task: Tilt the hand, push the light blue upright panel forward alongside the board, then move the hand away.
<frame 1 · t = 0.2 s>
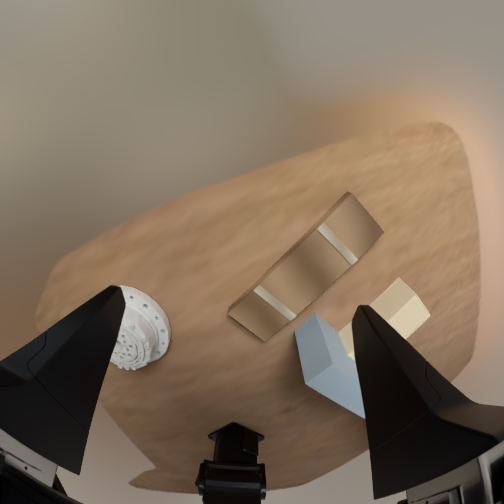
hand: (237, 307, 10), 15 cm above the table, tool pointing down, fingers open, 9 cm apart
light blue upright panel: (337, 348, 29), on the table
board: (304, 269, 26), on the table
mechanical component: (132, 321, 29), on the table
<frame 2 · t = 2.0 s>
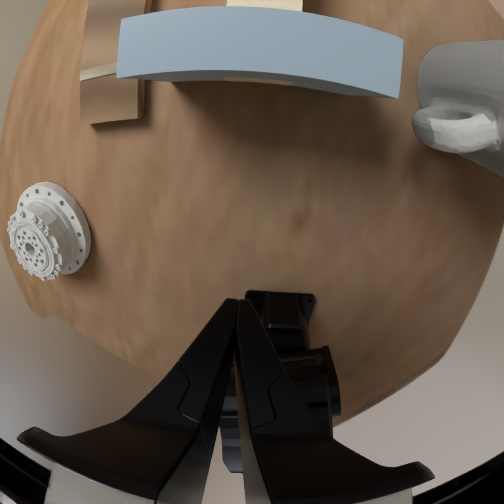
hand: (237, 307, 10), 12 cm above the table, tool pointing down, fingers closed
light blue upright panel: (260, 62, 15), on the table
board: (119, 24, 12), on the table
coffee mug: (447, 98, 14), on the table
mechanical component: (56, 225, 22), on the table
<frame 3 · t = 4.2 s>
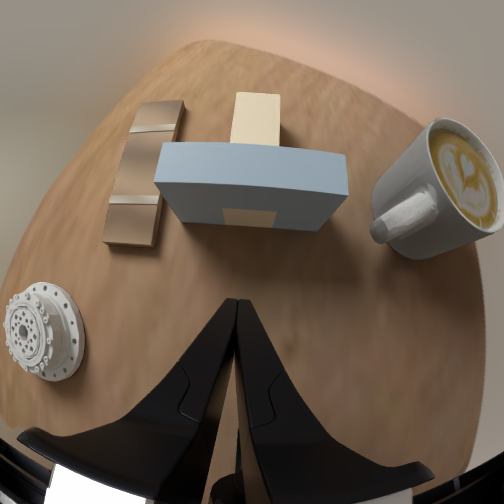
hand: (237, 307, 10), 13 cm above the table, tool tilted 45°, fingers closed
light blue upright panel: (249, 210, 24), on the table
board: (146, 167, 24), on the table
coffee mug: (399, 216, 24), on the table
mechanical component: (51, 331, 21), on the table
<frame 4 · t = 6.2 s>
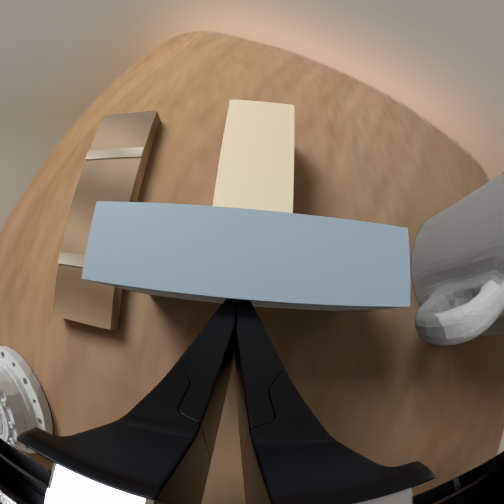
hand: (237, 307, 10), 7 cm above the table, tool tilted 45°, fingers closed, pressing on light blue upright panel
light blue upright panel: (246, 280, 17), on the table, touching gripper
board: (105, 209, 17), on the table
coffee mug: (441, 279, 17), on the table
mechanical component: (18, 398, 14), on the table
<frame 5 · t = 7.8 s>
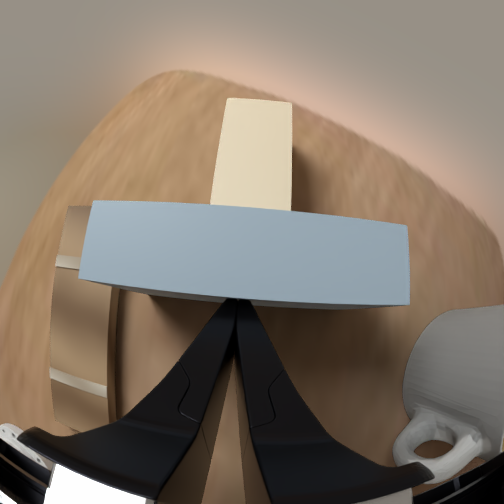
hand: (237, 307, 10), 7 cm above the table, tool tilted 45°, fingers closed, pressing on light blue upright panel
light blue upright panel: (244, 279, 17), on the table, touching gripper
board: (86, 324, 15), on the table
coffee mug: (433, 380, 15), on the table
mechanical component: (32, 465, 12), on the table
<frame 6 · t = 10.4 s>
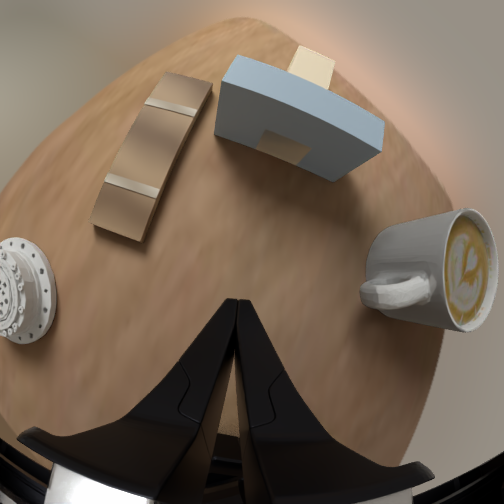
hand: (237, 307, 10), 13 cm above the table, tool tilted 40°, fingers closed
light blue upright panel: (280, 144, 24), on the table
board: (152, 148, 22), on the table
coffee mug: (388, 272, 25), on the table
mechanical component: (22, 290, 19), on the table
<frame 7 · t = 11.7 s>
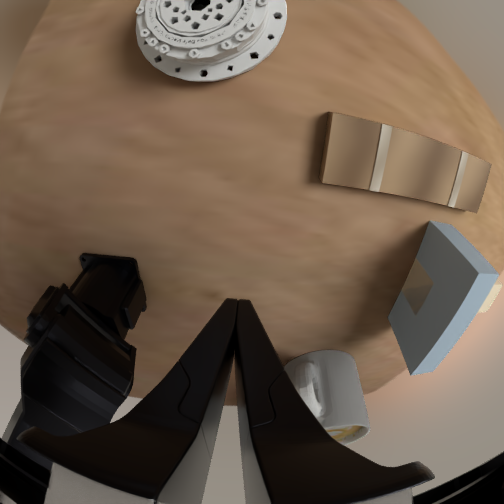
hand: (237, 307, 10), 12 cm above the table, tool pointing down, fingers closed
light blue upright panel: (419, 274, 24), on the table
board: (416, 164, 18), on the table
coffee mug: (317, 363, 32), on the table
mechanical component: (211, 20, 13), on the table
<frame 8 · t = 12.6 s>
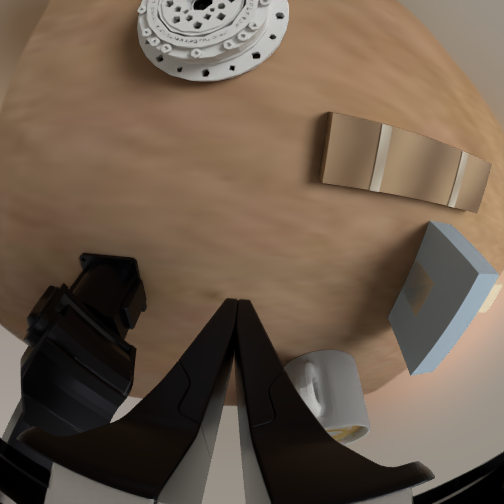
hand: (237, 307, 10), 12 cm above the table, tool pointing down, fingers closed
light blue upright panel: (419, 274, 24), on the table
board: (416, 164, 18), on the table
coffee mug: (317, 363, 32), on the table
mechanical component: (213, 20, 13), on the table
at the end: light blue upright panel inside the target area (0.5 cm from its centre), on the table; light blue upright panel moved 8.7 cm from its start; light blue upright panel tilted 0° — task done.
